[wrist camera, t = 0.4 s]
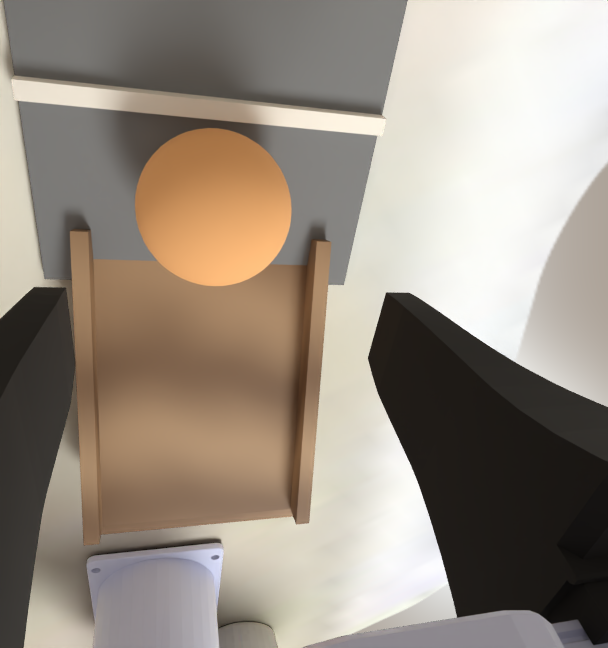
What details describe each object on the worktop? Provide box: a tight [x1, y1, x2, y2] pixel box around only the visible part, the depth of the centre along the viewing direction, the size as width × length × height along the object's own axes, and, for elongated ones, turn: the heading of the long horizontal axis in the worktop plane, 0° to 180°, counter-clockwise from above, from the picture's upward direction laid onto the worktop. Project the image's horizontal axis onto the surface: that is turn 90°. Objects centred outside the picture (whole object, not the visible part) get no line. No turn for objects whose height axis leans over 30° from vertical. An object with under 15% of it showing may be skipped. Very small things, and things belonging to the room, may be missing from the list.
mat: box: [4, 0, 408, 285], centre depth 17 cm, size 14×12×3 cm
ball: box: [135, 128, 292, 286], centre depth 17 cm, size 5×5×5 cm
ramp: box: [70, 229, 331, 545], centre depth 23 cm, size 14×10×7 cm
